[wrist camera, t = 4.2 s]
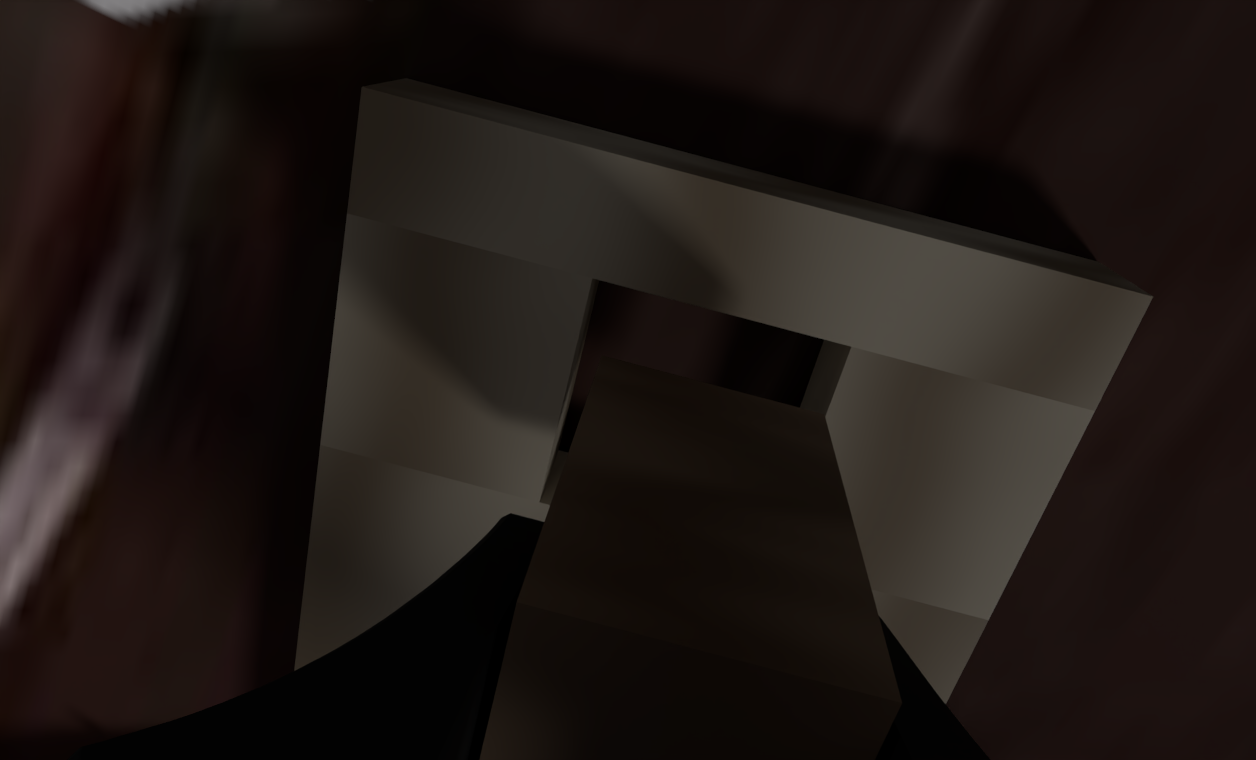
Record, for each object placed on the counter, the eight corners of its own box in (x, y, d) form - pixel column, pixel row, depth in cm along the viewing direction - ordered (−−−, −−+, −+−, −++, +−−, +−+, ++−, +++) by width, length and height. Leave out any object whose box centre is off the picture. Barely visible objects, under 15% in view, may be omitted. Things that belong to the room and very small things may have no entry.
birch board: (1098, 261, 18) (1158, 299, 16) (799, 891, 26) (808, 982, 24) (406, 78, 18) (357, 87, 16) (313, 764, 26) (271, 843, 24)
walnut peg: (824, 413, 15) (902, 703, 9) (756, 596, 17) (781, 955, 10) (602, 355, 15) (517, 602, 9) (554, 543, 17) (453, 869, 10)
